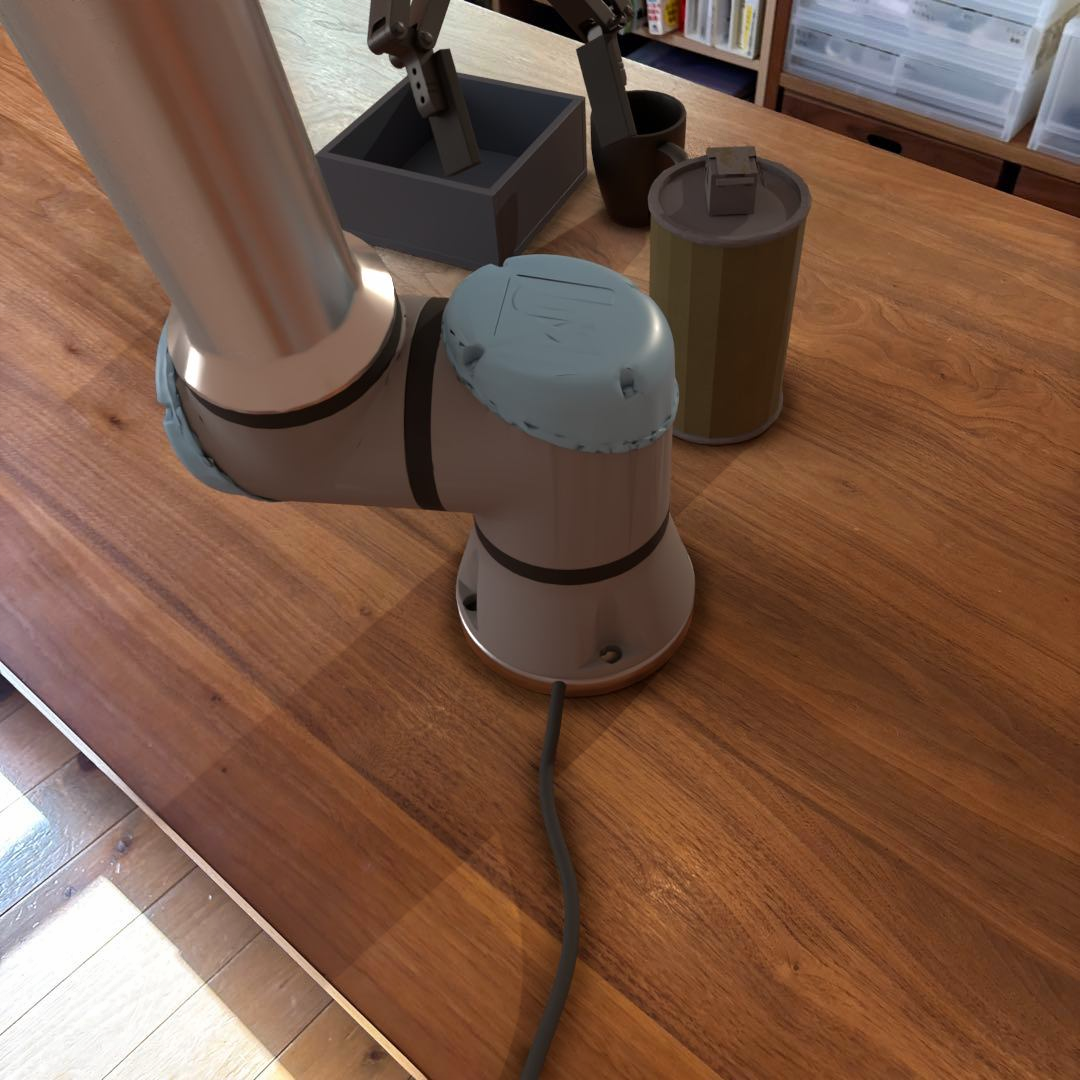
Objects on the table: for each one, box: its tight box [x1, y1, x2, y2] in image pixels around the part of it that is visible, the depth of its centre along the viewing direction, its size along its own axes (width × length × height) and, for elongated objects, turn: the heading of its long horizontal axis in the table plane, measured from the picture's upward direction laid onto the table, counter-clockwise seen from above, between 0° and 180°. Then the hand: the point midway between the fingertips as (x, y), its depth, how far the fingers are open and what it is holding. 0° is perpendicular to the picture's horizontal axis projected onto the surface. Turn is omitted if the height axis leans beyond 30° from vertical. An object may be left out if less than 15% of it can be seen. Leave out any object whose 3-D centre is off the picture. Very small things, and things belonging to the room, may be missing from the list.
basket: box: [315, 71, 588, 272], centre depth 101 cm, size 18×18×8 cm
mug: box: [589, 89, 692, 228], centre depth 97 cm, size 8×12×10 cm
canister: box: [648, 145, 813, 446], centre depth 77 cm, size 11×10×20 cm
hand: (546, 155), depth 70 cm, fingers open, 13 cm apart
